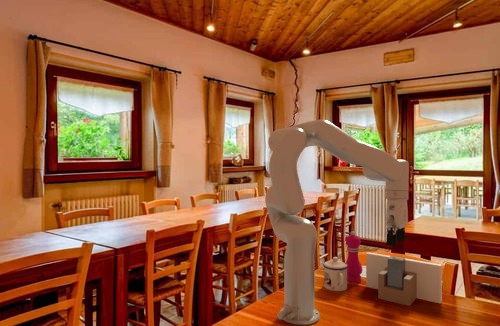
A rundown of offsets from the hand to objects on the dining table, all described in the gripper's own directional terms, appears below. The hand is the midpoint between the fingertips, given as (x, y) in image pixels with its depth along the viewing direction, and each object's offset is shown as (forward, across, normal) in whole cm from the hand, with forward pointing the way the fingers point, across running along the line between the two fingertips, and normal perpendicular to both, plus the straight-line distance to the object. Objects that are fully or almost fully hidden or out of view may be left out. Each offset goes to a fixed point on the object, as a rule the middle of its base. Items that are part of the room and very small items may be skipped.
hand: (395, 243), depth 129 cm
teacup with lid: (+20, -3, +20) cm, 29 cm away
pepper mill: (+20, +10, +20) cm, 30 cm away
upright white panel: (+20, +2, 0) cm, 20 cm away
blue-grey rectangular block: (+15, 0, 0) cm, 15 cm away
